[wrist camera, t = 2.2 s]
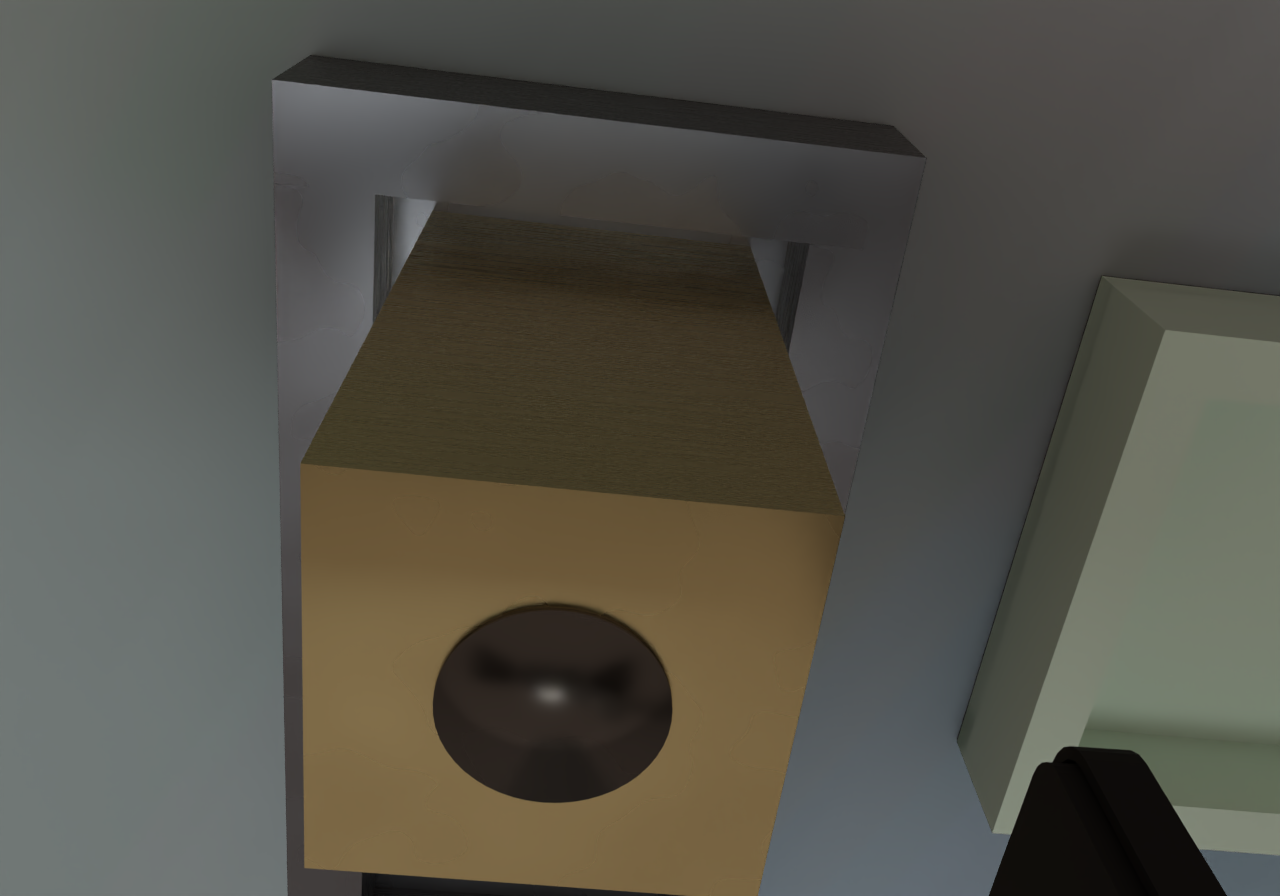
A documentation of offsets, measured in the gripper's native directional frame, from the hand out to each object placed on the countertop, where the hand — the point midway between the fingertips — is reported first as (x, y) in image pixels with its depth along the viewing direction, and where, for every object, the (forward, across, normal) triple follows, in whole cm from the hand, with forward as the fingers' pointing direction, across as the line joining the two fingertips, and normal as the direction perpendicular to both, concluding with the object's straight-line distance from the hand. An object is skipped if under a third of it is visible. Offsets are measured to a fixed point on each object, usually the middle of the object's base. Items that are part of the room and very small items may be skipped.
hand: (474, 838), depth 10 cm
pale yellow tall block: (+11, -1, 0) cm, 11 cm away
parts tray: (+11, -14, +3) cm, 18 cm away
